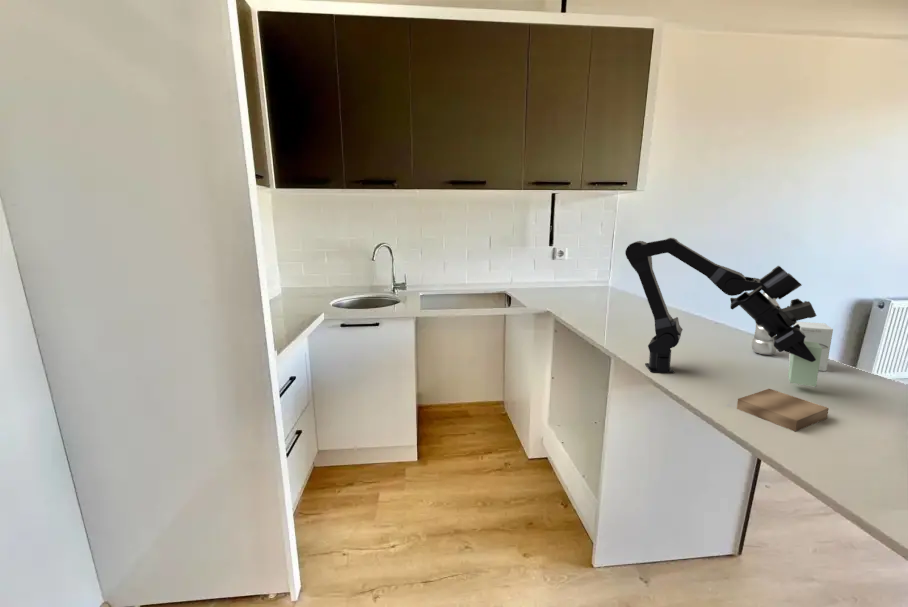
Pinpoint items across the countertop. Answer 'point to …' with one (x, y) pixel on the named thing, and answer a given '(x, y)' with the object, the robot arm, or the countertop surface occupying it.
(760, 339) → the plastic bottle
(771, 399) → the walnut plinth
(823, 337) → the supplement box
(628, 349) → the countertop surface
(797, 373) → the sage block
